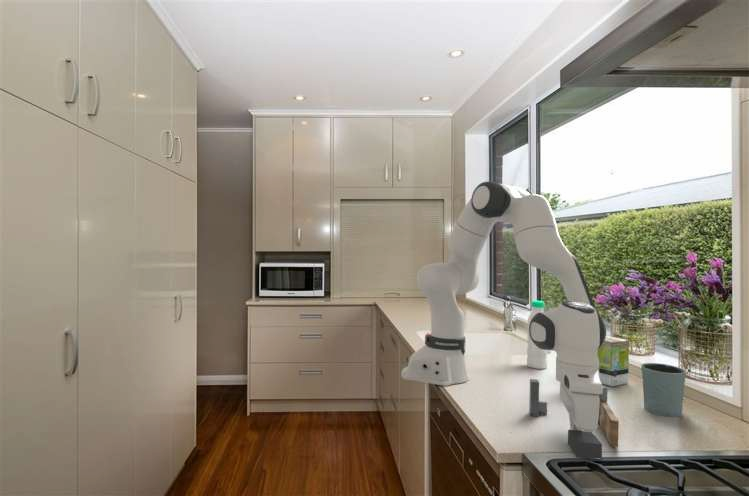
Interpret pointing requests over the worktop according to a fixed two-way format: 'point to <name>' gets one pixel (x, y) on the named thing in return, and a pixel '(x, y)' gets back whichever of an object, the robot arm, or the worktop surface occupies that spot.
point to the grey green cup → (663, 388)
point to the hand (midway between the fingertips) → (575, 434)
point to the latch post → (536, 400)
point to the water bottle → (535, 354)
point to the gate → (609, 423)
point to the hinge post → (603, 398)
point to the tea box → (614, 361)
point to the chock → (584, 444)
